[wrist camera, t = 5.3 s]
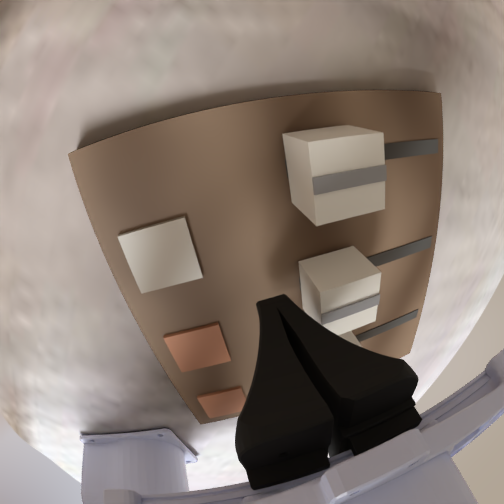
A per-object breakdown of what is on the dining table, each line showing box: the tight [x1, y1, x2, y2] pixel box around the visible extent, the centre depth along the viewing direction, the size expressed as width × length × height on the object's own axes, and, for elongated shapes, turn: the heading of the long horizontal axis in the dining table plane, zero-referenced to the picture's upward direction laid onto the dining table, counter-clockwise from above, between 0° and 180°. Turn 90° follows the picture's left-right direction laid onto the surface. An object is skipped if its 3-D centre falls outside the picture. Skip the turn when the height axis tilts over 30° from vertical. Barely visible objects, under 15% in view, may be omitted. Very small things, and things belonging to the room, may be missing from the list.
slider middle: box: [298, 246, 381, 335], centre depth 14 cm, size 3×3×3 cm
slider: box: [282, 125, 387, 226], centre depth 11 cm, size 3×3×3 cm
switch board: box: [68, 90, 443, 424], centre depth 16 cm, size 18×20×1 cm
